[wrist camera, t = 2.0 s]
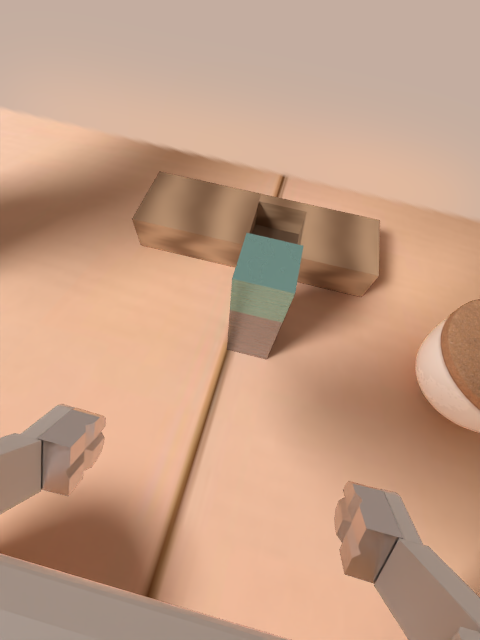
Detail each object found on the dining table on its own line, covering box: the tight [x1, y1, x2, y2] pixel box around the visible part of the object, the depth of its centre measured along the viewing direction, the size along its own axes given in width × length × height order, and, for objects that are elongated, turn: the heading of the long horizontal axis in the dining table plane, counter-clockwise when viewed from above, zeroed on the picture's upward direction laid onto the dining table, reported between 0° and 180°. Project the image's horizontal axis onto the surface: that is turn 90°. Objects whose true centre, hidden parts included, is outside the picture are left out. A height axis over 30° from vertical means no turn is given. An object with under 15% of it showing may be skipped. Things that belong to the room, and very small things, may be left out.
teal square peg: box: [227, 233, 303, 359], centre depth 24 cm, size 4×4×12 cm
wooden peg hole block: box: [132, 172, 380, 297], centre depth 34 cm, size 26×8×4 cm, turn 76°
